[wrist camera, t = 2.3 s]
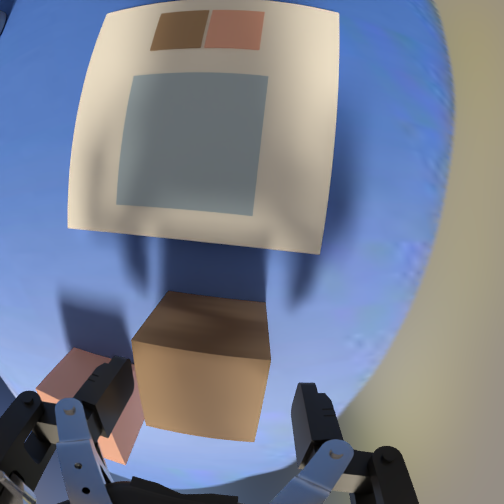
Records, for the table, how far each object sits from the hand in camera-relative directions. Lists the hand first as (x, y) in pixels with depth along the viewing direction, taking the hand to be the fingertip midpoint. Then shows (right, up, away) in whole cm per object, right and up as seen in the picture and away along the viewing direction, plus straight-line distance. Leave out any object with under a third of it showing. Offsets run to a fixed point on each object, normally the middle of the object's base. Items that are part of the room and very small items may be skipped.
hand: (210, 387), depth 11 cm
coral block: (-9, -4, +6) cm, 11 cm away
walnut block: (0, +1, +4) cm, 4 cm away
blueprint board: (-1, +14, +1) cm, 14 cm away
